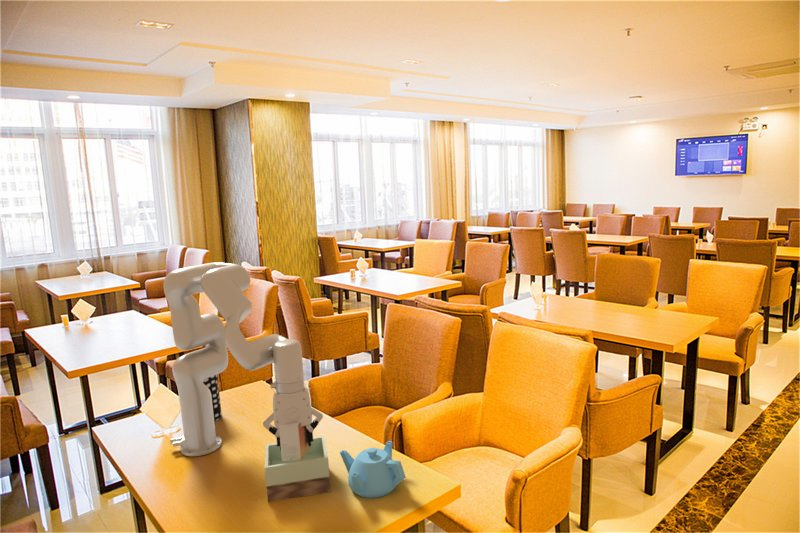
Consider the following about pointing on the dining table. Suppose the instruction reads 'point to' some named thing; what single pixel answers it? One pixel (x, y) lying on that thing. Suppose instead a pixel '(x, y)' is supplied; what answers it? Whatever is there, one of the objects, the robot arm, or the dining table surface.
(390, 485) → the teapot
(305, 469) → the upper crate
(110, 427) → the dining table surface
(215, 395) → the white-spotted black cylinder
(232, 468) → the dining table surface
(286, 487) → the lower crate
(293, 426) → the small box
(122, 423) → the dining table surface
